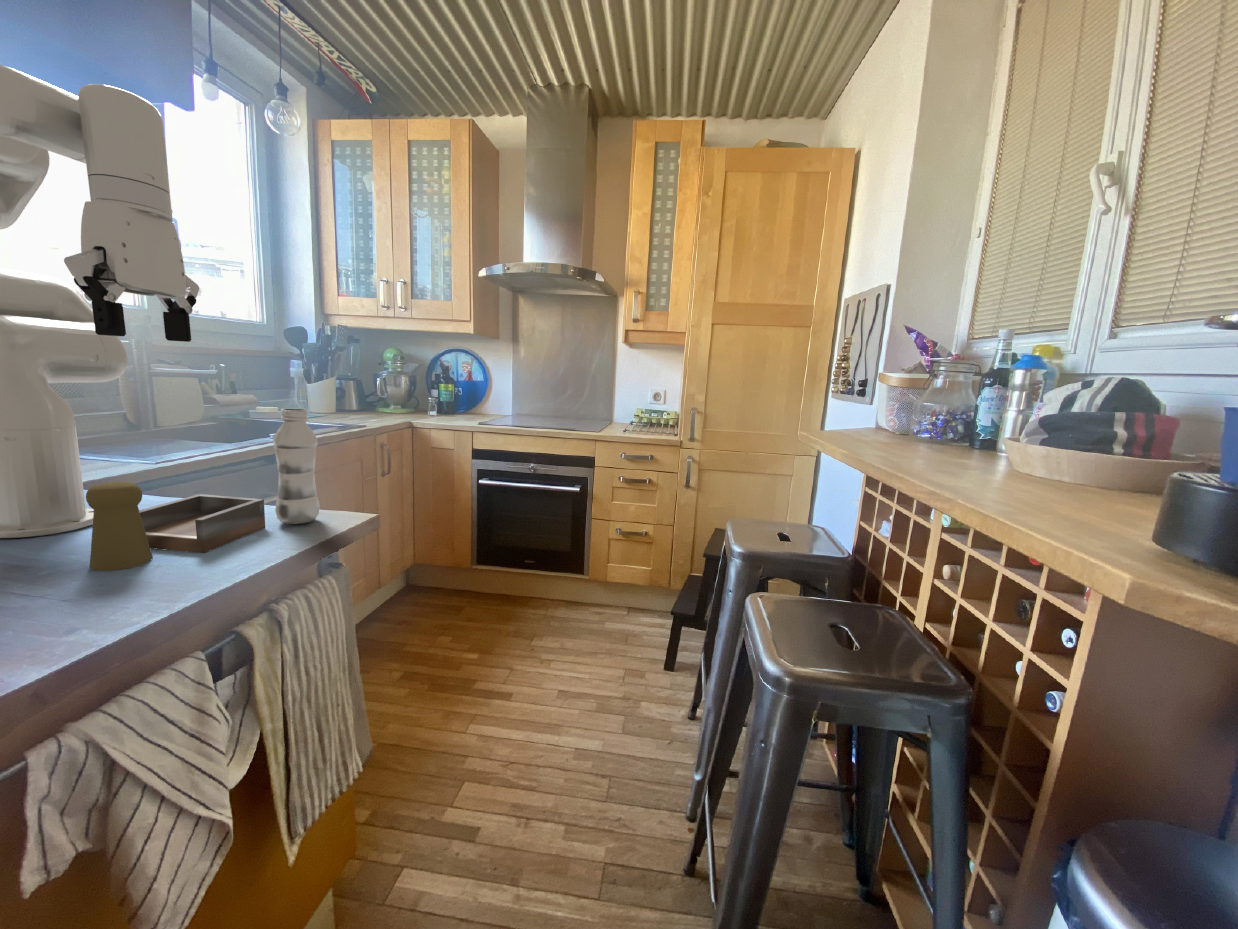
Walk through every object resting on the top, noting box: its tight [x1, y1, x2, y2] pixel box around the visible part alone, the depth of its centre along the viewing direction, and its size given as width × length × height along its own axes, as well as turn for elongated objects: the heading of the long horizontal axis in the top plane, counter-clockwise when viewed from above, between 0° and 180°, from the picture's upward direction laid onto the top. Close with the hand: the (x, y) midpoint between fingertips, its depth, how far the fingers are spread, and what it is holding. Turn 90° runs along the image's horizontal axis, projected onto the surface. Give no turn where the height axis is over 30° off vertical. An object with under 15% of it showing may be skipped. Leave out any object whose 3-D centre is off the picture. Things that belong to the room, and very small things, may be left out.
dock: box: [139, 493, 266, 554], centre depth 77 cm, size 11×12×5 cm
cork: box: [85, 481, 154, 572], centre depth 66 cm, size 6×6×11 cm
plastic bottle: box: [272, 407, 320, 525], centre depth 85 cm, size 6×7×20 cm
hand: (147, 338), depth 66 cm, fingers open, 9 cm apart
